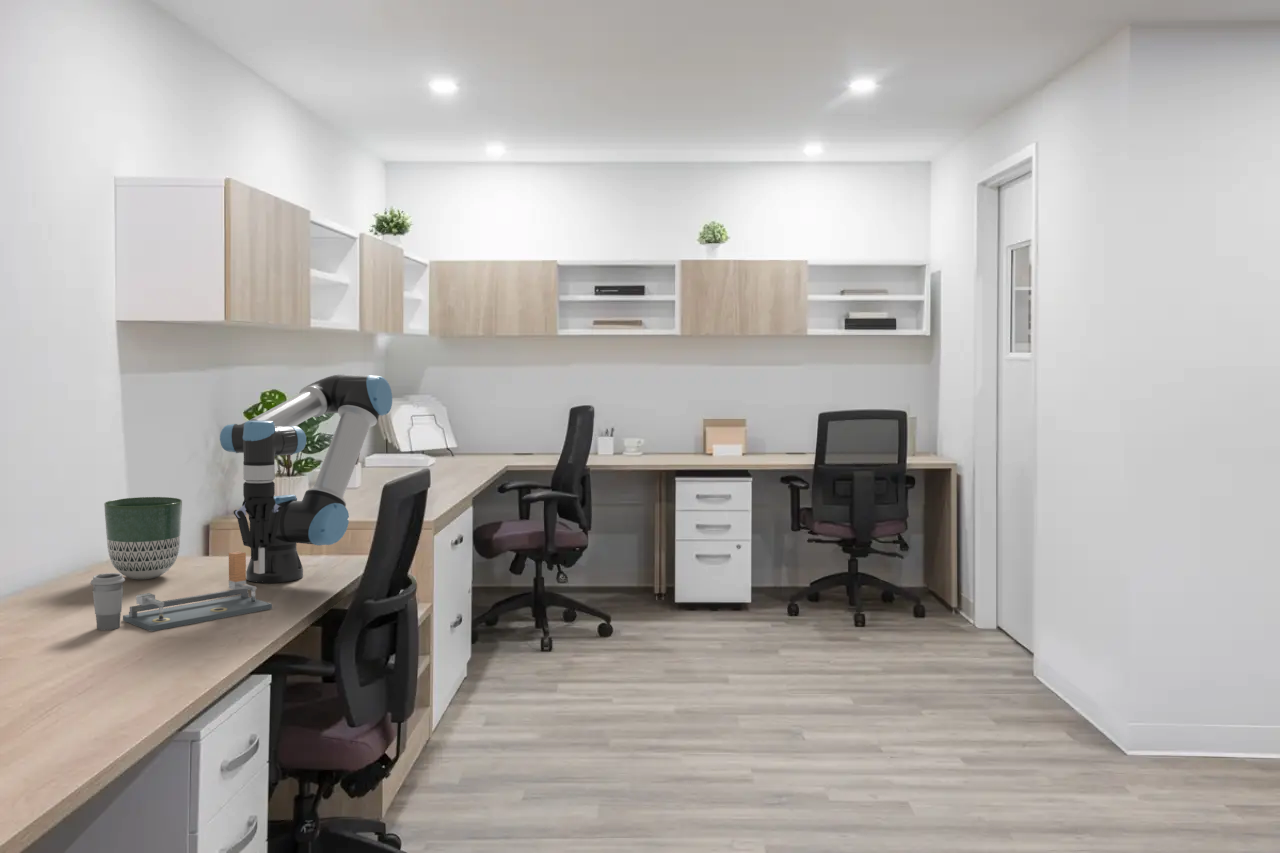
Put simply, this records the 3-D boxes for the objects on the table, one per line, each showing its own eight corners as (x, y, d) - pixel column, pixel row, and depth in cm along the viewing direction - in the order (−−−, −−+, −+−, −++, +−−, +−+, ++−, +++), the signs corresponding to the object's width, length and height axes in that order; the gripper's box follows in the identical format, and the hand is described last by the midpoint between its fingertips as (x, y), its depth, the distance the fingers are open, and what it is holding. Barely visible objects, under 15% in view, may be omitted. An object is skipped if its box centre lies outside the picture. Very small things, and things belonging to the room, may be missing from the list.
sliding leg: (239, 595, 265) (239, 551, 264) (259, 601, 259) (259, 556, 258) (228, 597, 262) (228, 552, 262) (248, 603, 256) (248, 557, 256)
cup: (113, 622, 242) (112, 571, 241) (132, 626, 239) (131, 574, 238) (84, 629, 236) (83, 576, 235) (103, 633, 233) (102, 580, 232)
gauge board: (242, 599, 267) (242, 594, 267) (272, 608, 258) (272, 603, 258) (122, 620, 244) (122, 615, 244) (151, 631, 235) (150, 625, 235)
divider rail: (243, 596, 266) (243, 577, 265) (264, 602, 260) (263, 583, 259) (127, 616, 243) (127, 596, 243) (146, 623, 237) (146, 603, 237)
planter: (175, 584, 283) (174, 505, 282) (97, 586, 279) (96, 507, 277) (188, 569, 302) (187, 496, 301) (115, 571, 297) (114, 497, 296)
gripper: (274, 478, 273) (274, 567, 274) (227, 481, 263) (227, 574, 264) (290, 480, 268) (290, 571, 269) (243, 484, 258) (243, 578, 259)
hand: (259, 572), depth 267 cm, fingers closed
